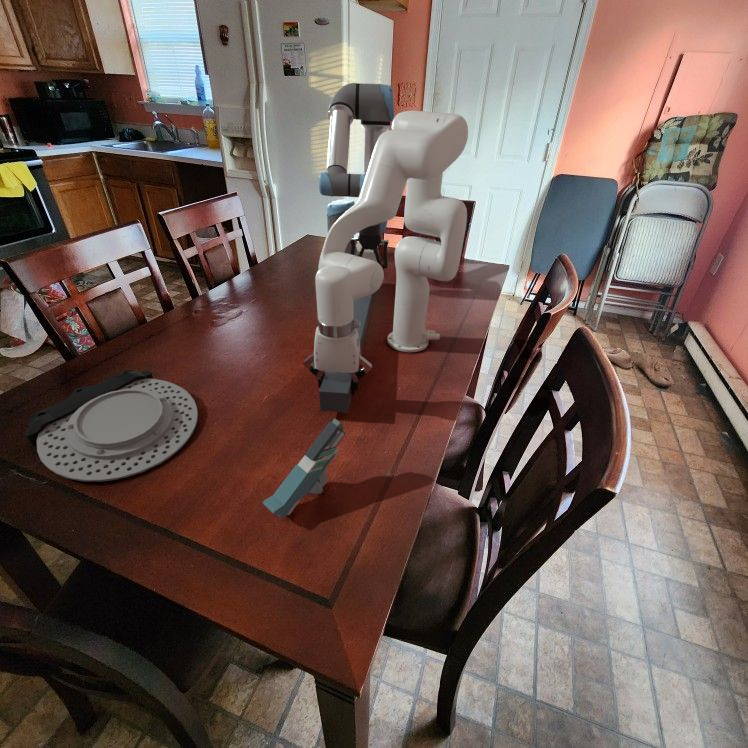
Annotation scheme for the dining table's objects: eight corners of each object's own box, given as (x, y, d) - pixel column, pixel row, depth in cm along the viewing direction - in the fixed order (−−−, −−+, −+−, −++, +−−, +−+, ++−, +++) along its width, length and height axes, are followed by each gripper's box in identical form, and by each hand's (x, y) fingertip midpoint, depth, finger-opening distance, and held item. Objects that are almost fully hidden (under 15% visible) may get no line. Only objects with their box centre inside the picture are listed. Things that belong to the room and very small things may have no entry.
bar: (348, 412, 94) (348, 393, 91) (320, 410, 94) (319, 391, 91) (378, 279, 162) (378, 265, 159) (361, 278, 163) (362, 264, 160)
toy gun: (362, 441, 81) (342, 423, 73) (302, 525, 77) (273, 515, 69) (349, 432, 83) (328, 413, 75) (290, 513, 79) (260, 502, 71)
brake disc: (18, 425, 89) (8, 408, 86) (155, 369, 108) (150, 354, 105) (75, 511, 73) (64, 493, 70) (224, 428, 92) (221, 411, 89)
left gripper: (398, 221, 146) (394, 282, 159) (344, 217, 147) (344, 278, 161) (397, 227, 140) (393, 290, 153) (340, 224, 141) (341, 286, 155)
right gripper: (377, 319, 90) (376, 383, 101) (300, 314, 91) (306, 378, 102) (374, 337, 84) (373, 403, 95) (291, 331, 85) (299, 398, 96)
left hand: (368, 284), depth 157 cm, fingers closed on bar, 7 cm apart
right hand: (338, 390), depth 98 cm, fingers closed on bar, 6 cm apart
